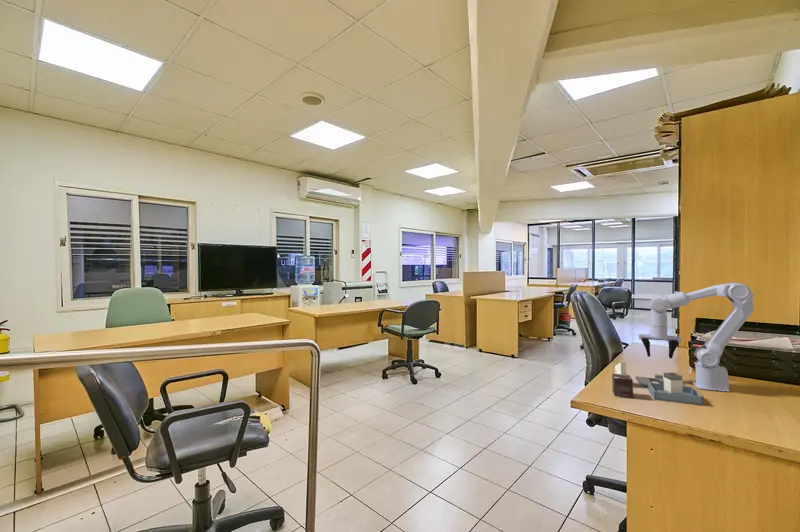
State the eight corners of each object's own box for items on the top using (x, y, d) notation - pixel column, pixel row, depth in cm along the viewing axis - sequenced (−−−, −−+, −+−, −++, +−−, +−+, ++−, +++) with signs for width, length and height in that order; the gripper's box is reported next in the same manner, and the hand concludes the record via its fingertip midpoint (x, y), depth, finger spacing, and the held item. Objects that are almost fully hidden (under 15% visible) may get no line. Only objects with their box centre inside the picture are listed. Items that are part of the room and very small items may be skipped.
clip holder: (681, 383, 142) (681, 376, 142) (689, 392, 132) (689, 384, 132) (635, 378, 149) (635, 371, 149) (640, 386, 139) (640, 379, 139)
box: (630, 393, 132) (629, 374, 132) (633, 399, 127) (633, 379, 127) (612, 391, 135) (611, 373, 135) (614, 396, 129) (614, 377, 129)
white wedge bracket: (626, 384, 136) (620, 362, 140) (617, 388, 144) (612, 368, 148) (636, 384, 135) (630, 362, 139) (626, 389, 143) (621, 368, 148)
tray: (692, 394, 129) (692, 386, 129) (703, 405, 119) (702, 397, 119) (648, 389, 135) (647, 382, 135) (654, 399, 125) (654, 391, 125)
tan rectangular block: (675, 393, 129) (674, 372, 129) (682, 397, 125) (682, 376, 125) (664, 393, 130) (663, 372, 130) (671, 397, 126) (670, 375, 126)
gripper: (677, 325, 145) (677, 356, 145) (636, 323, 152) (637, 353, 152) (682, 327, 139) (683, 360, 139) (640, 325, 145) (640, 357, 145)
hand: (659, 357), depth 145 cm, fingers open, 7 cm apart
